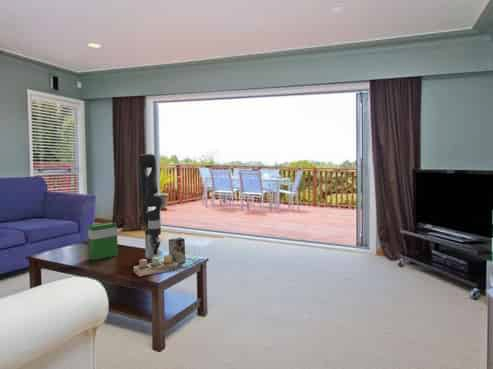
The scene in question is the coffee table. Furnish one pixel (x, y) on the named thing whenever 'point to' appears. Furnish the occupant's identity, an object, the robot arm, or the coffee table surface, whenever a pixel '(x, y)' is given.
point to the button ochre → (167, 259)
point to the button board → (155, 268)
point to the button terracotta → (143, 263)
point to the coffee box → (177, 249)
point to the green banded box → (102, 240)
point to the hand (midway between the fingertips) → (155, 254)
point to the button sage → (155, 261)
